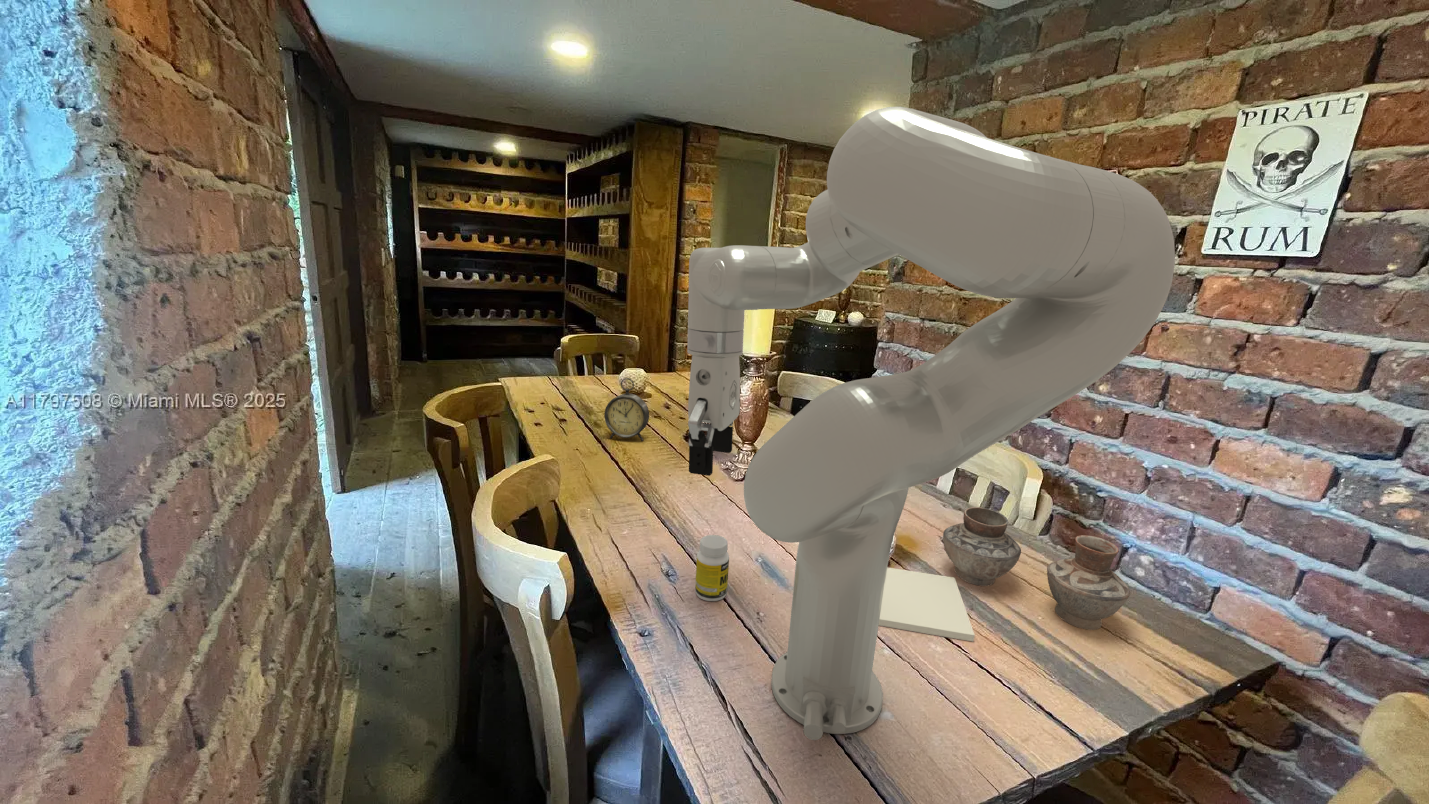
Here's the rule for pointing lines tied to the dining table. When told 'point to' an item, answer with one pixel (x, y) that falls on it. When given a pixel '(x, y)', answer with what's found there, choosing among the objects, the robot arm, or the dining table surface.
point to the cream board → (924, 605)
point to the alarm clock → (626, 415)
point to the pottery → (1073, 582)
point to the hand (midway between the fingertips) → (711, 461)
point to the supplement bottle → (712, 568)
